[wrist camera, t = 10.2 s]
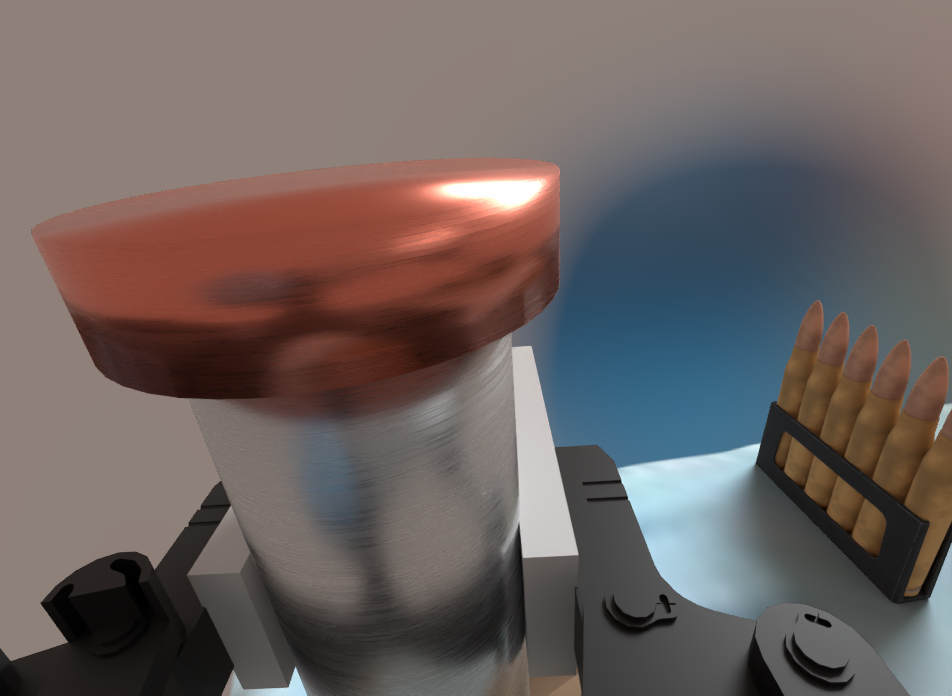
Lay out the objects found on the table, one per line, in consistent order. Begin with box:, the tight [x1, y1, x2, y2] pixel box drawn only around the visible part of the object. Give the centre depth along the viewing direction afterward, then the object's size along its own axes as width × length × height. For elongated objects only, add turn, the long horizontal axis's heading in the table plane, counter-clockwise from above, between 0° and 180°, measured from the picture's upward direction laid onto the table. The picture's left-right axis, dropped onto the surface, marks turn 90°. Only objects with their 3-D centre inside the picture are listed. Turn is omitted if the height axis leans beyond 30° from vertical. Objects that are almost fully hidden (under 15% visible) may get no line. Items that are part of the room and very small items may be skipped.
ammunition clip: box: [756, 301, 952, 603], centre depth 25 cm, size 11×2×12 cm, turn 6°
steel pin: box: [31, 158, 560, 696], centre depth 8 cm, size 5×5×14 cm
